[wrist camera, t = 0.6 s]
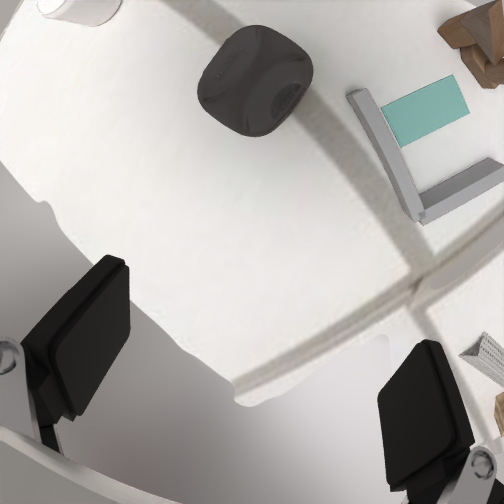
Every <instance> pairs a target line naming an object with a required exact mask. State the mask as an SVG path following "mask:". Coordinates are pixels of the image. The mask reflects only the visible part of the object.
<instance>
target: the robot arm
mask: <svg viewBox="0 0 504 504" xmlns="http://www.w3.org/2000/svg"><path fill="white" fill-rule="evenodd" d="M129 334H130V296H129V267H128V266H127V265H125V261H124V260H123V259H121V258H117V257H114V256H111V255H105V256H104V257H103V258H102V259H101V260H100V261H99V262H98V263H97V264H95V265H94V266H93V267H92V268H91V269H90V270H89V271H88V272H87V273H86V274H85V275H84V276H83V277H82V278H81V279H80V280H79V281H78V282H77V283H76V284H75V285H74V286H73V287H72V288H71V289H70V290H68V291H67V293H65V294H64V295H63V297H62V298H61V299H60V300H59V301H58V302H57V303H56V304H55V305H54V306H53V307H52V308H51V309H50V310H49V311H48V312H47V314H46V315H45V316H44V317H43V318H42V319H41V320H40V321H39V323H37V325H36V326H35V327H34V328H33V329H32V330H31V331H30V333H29V334H28V335H27V336H26V337H25V338H24V339H23V340H22V342H21V343H19V342H18V341H16V340H15V339H13V338H10V337H0V504H181V503H178V502H174V501H171V500H167V499H164V498H161V497H158V496H155V495H152V494H149V493H147V492H144V491H141V490H138V489H136V488H133V487H131V486H128V485H126V484H123V483H121V482H118V481H116V480H113V479H111V478H109V477H107V476H104V475H102V474H100V473H97V472H95V471H93V470H91V469H89V468H87V467H85V466H83V465H81V464H79V463H77V462H75V461H72V460H71V459H69V458H67V457H65V456H64V453H63V449H62V446H61V441H60V438H59V433H58V429H57V425H56V424H57V423H58V421H59V419H60V417H61V416H63V417H65V418H67V419H69V420H71V421H72V422H73V421H74V419H75V417H76V416H77V415H78V416H81V415H82V414H83V413H84V411H85V409H86V408H87V406H88V404H89V402H90V400H91V399H92V397H93V395H94V394H95V392H96V390H97V389H98V387H99V385H100V383H101V382H102V380H103V378H104V376H105V375H106V373H107V372H108V370H109V368H110V367H111V365H112V363H113V362H114V360H115V358H116V357H117V355H118V353H119V352H120V350H121V348H122V347H123V345H124V344H125V342H126V341H127V339H128V337H129ZM377 402H378V408H379V414H380V415H379V416H380V423H381V431H382V439H383V447H384V457H385V468H386V479H387V482H388V484H389V485H390V492H396V491H404V490H407V495H406V497H405V498H404V500H403V501H402V503H401V504H504V485H503V484H502V483H501V482H499V481H498V480H497V479H496V478H495V477H496V472H497V463H496V460H495V458H494V456H493V454H492V453H491V452H490V451H489V450H488V449H487V448H485V447H481V446H478V447H475V448H474V449H472V450H471V451H470V448H469V447H470V446H471V445H473V444H474V443H475V439H474V436H473V432H472V429H471V426H470V422H469V419H468V416H467V413H466V410H465V407H464V404H463V401H462V398H461V395H460V392H459V389H458V386H457V384H456V381H455V378H454V376H453V373H452V370H451V368H450V365H449V363H448V360H447V358H446V355H445V353H444V350H443V348H442V345H441V344H440V343H439V342H437V341H432V340H427V339H424V340H422V341H421V342H420V343H417V344H416V345H415V347H414V348H413V350H412V351H411V352H410V354H409V355H408V356H407V358H406V359H405V360H404V362H403V363H402V364H401V366H400V367H399V368H398V370H397V371H396V372H395V373H394V375H393V376H392V377H391V378H390V380H389V381H388V382H387V383H386V385H385V386H384V387H383V388H382V389H381V391H380V392H379V394H378V399H377Z"/></svg>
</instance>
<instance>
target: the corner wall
mask: <svg viewBox="0 0 504 504" xmlns="http://www.w3.org/2000/svg"><path fill="white" fill-rule="evenodd" d="M346 98H347V99H348V101H349V103H350V104H351V106H352V108H353V109H354V111H355V113H356V115H357V116H358V118H359V120H360V122H361V124H362V125H363V127H364V129H365V131H366V133H367V135H368V136H369V138H370V140H371V142H372V144H373V146H374V148H375V150H376V152H377V154H378V156H379V158H380V160H381V162H382V164H383V166H384V168H385V170H386V172H387V174H388V177H389V179H390V181H391V183H392V185H393V187H394V190H395V192H396V194H397V196H398V199H399V201H400V203H401V206H402V208H403V210H404V212H405V213H406V214H407V215H408V216H409V217H410V219H411V220H412V221H413V222H414V223H416V222H418V221H419V222H420V223H421V224H422V226H424V225H426V224H428V223H430V222H432V221H434V220H435V219H437V218H439V217H441V216H443V215H445V214H447V213H448V212H450V211H452V210H454V209H456V208H457V207H459V206H461V205H463V204H465V203H466V202H468V201H470V200H472V199H473V198H475V197H477V196H479V195H481V194H482V193H484V192H486V191H487V190H489V189H491V188H493V187H494V186H496V185H498V184H499V183H501V182H503V181H504V164H501V163H499V162H497V161H494V160H492V159H490V158H486V159H485V160H483V161H481V162H479V163H477V164H476V165H474V166H472V167H470V168H468V169H466V170H465V171H463V172H461V173H459V174H457V175H455V176H453V177H452V178H450V179H448V180H446V181H444V182H442V183H440V184H439V185H437V186H435V187H433V188H431V189H429V190H427V191H425V192H423V193H422V194H420V195H418V192H417V190H416V187H415V185H414V182H413V180H412V177H411V175H410V173H409V170H408V168H407V166H406V164H405V161H404V159H403V157H402V155H401V153H400V151H399V148H398V146H397V144H396V142H395V140H394V138H393V136H392V134H391V132H390V130H389V128H388V126H387V124H386V122H385V120H384V118H383V117H382V115H381V113H380V111H379V109H378V107H377V105H376V104H375V102H374V100H373V98H372V97H371V95H370V93H369V91H368V90H367V88H365V89H360V90H357V91H355V92H353V93H351V94H349V95H347V96H346Z"/></svg>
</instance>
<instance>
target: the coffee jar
mask: <svg viewBox="0 0 504 504" xmlns="http://www.w3.org/2000/svg"><path fill="white" fill-rule="evenodd" d="M312 77H313V65H312V61H311V59H310V57H309V56H308V54H307V53H306V52H305V51H304V50H303V49H302V48H301V47H299V46H298V45H297V44H296V43H294V42H293V41H292V40H290V39H289V38H287V37H286V36H284V35H282V34H281V33H279V32H277V31H275V30H273V29H271V28H268V27H266V26H261V25H251V26H247V27H244V28H241V29H240V30H238V31H236V32H235V33H234V34H233V35H232V36H231V37H230V38H228V39H227V40H226V41H225V43H224V44H223V45H222V47H221V48H220V49H219V51H218V52H217V53H216V55H215V56H214V57H213V59H212V60H211V62H210V63H209V64H208V66H207V67H206V69H205V70H204V71H203V75H202V77H201V78H200V81H199V83H198V89H197V94H198V100H199V102H200V104H201V106H202V107H203V108H204V110H205V111H206V112H208V113H209V114H210V115H211V116H212V117H214V118H215V119H216V120H218V121H219V122H221V123H222V124H223V125H225V126H227V127H228V128H230V129H232V130H233V131H235V132H237V133H239V134H241V135H244V136H248V137H261V136H264V135H267V134H269V133H271V132H272V131H274V130H275V129H276V128H277V127H278V126H279V125H280V124H282V122H283V121H284V120H285V119H286V118H287V117H288V116H289V115H290V114H291V113H292V112H293V111H294V109H295V108H296V107H297V105H298V104H299V102H300V101H301V99H302V98H303V96H304V94H305V93H306V91H307V89H308V88H309V86H310V83H311V81H312Z"/></svg>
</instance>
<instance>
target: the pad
mask: <svg viewBox="0 0 504 504" xmlns="http://www.w3.org/2000/svg"><path fill="white" fill-rule="evenodd" d="M381 109H382V111H383V113H384V115H385V117H386V119H387V121H388V123H389V125H390V127H391V129H392V131H393V133H394V135H395V137H396V139H397V141H398V143H399V145H400V147H403V146H405V145H407V144H409V143H411V142H413V141H415V140H417V139H419V138H421V137H423V136H425V135H427V134H429V133H431V132H433V131H435V130H437V129H439V128H441V127H443V126H445V125H447V124H449V123H451V122H453V121H455V120H457V119H459V118H461V117H463V116H465V115H467V114H469V113H470V112H469V109H468V107H467V104H466V102H465V100H464V97H463V95H462V93H461V91H460V88H459V86H458V84H457V82H456V80H455V78H454V76H453V75H451V76H449V77H446V78H444V79H442V80H440V81H437V82H435V83H433V84H431V85H428V86H426V87H424V88H422V89H420V90H418V91H415V92H413V93H411V94H409V95H407V96H405V97H403V98H401V99H399V100H397V101H394V102H392V103H390V104H388V105H386V106H384V107H382V108H381Z"/></svg>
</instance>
